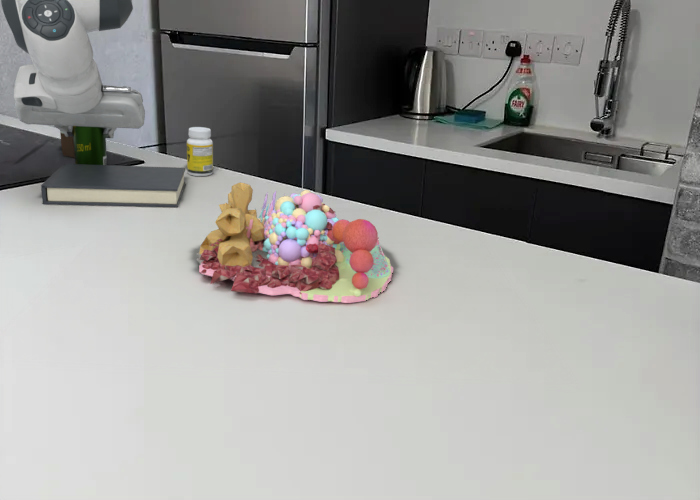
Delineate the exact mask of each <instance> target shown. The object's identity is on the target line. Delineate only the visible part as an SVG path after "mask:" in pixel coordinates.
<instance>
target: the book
mask: <svg viewBox="0 0 700 500" xmlns="http://www.w3.org/2000/svg"><path fill="white" fill-rule="evenodd" d="M185 172H186V167H174V166H173V167H171V166H146V165H145V166H143V165H142V166H141V165H116V164H115V165H113V164H107V165H85V164H75V163H63V165H61V166H60V167H59V168H58V169H57V170H56V171H55V172H54V173H52V175H50V176H49V177H48V178H47V179H46V180H44V182H42V184H40V190H41V200H42V201H41V203H42V204H43V205H60V206H61V205H63V206H65V205H66V206H67V205H69V206H70V205H71V206H103V207H104V206H105V207H106V206H108V207H110V206H112V207H150V208H152V207H153V208H178V207H179V204H180V201H181V200H182V199H181V198H182V196H183V193H184V189H185V187H186V182H185Z"/></svg>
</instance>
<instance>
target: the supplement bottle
mask: <svg viewBox="0 0 700 500" xmlns="http://www.w3.org/2000/svg"><path fill="white" fill-rule="evenodd" d="M187 134H188V139H187V140H186V171H187V174H188V175H190V176H193V177H208V176H212V175H213V174H214V150H213V149H214V141H213V140H212V139H211V137H212V130H211V128H209V127H205V126H204V127H203V126H192V127H189V128H188V133H187Z"/></svg>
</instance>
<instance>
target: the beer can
mask: <svg viewBox="0 0 700 500" xmlns="http://www.w3.org/2000/svg"><path fill="white" fill-rule="evenodd" d="M103 130H104V127H84V126H73V139H74V153H75V158H74V164H85V165H108V155H107V154H108V153H107V138H105V137H104V135H103Z"/></svg>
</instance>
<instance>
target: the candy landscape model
mask: <svg viewBox="0 0 700 500" xmlns="http://www.w3.org/2000/svg"><path fill="white" fill-rule="evenodd" d="M253 193H254V189H253V187H252V186H251V184H248V183H245V182H237V183H235V184H233V185H231V191H230V192H229V193H228V194H227V202H225V203H221V204H218V206H219V209H220V211H221V213H220V214H219V215H218V216H217V218H216V220H215V222H214V223H215V225H216V226H217V229H214V230H212V231H210V232H209V233H208V234H207V235H206V237H205V238H204V240H203V242H202V243H201V245H200V246H199V251H198V252H196V253H195V254H196V256H197V258H196V262H198V264H199V265H198V272H199V274H201V275H205V276H209V277H211V280H210V283H209V285H212V284H216V283H218V282H223V281H225V280H231V281H232V282H233V283H232V287H231V289H230V292H237V293H249V294H263V295H267V296H281V295H292V296H293V297H296V298H299V299H301V300H304V301H308V300H309V301H310V300H311V301H315V302H320V303H326V302H332V303H343V304H351V303H359V302H360V303H361V302H367V301H368V300H370V299H373V298H372V297H374V298H377V297H378V296H379V295H380V294H381V293H384V292H385V291H386V290H385V289H387V288H388V285H389V284H390V283H391V282H392V277H393V274H394V268H395V267H393V266H392V265H391V260H390V258H389V257H387V256H386V255H385V253H384V251H383V248H382V246H380V242H379V238H380V236H378V234H379V233H378V230H377V229H376V226H375V225H374V224H373V223H372V222H371V221H370V220H367V219H363V218H358V219H354V220H352V221H349V220H347V219H344V218H343V219H339V217H337V214H336V211H335V210H334V209H333V208H331V207H330V206H329V205H327V204H325V203H323V202H324V199H323V197H322V196H321V195H320V194H316V193H314V192H311V191H310V190H309V189H304V190H302V191H301V192H300V193H296V192H292V193H291V194H289V195H286V193H284V195H283V196H281V197H279V198H276V197H277V190H275V191H274V193H272V198H271V202H270V203H268V193H266V194H265V197H264V199H263V204H262V207H261V210H260V214H259V215H258V214H257V213H258V212H257V209H256V208H254V209H249V205H250V203H251V201H252V200H253ZM276 199H277V200H276ZM267 203H268V204H267ZM392 273H393V274H392ZM390 281H391V282H390ZM389 282H390V283H389ZM388 283H389V284H388ZM386 287H387V288H386ZM383 291H384V292H383ZM380 292H381V293H380ZM378 294H379V295H378ZM366 300H367V301H366Z"/></svg>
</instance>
